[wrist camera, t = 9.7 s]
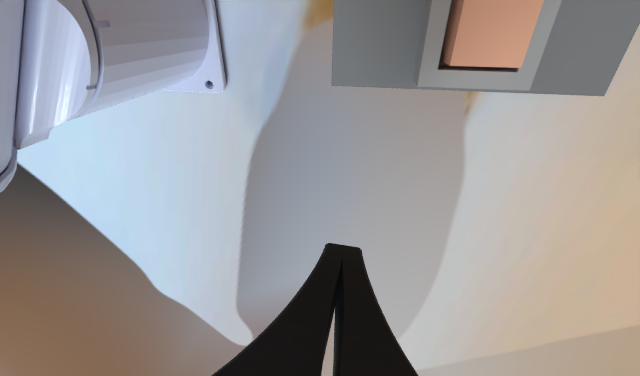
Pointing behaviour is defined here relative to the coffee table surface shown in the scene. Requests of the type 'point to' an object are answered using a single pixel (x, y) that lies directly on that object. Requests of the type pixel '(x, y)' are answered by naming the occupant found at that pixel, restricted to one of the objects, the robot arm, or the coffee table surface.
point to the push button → (489, 32)
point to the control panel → (430, 73)
